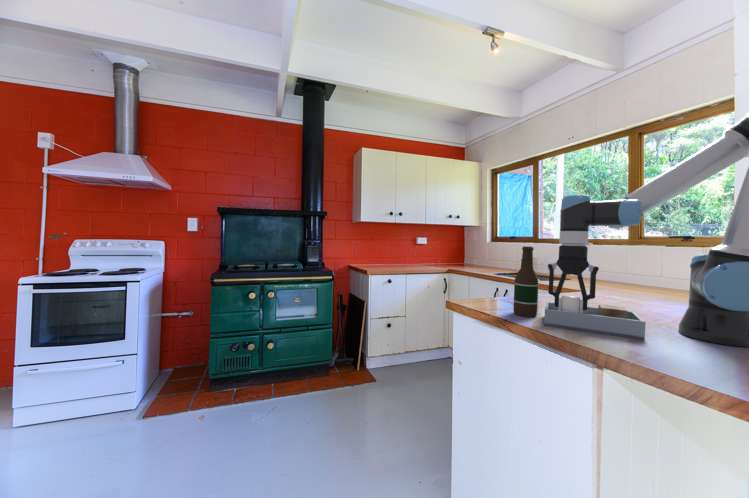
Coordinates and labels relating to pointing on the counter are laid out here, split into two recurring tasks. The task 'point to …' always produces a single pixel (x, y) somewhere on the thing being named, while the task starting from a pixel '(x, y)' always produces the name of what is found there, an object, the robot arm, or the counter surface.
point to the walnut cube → (612, 311)
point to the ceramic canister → (570, 303)
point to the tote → (595, 322)
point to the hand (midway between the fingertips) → (569, 318)
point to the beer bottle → (526, 286)
